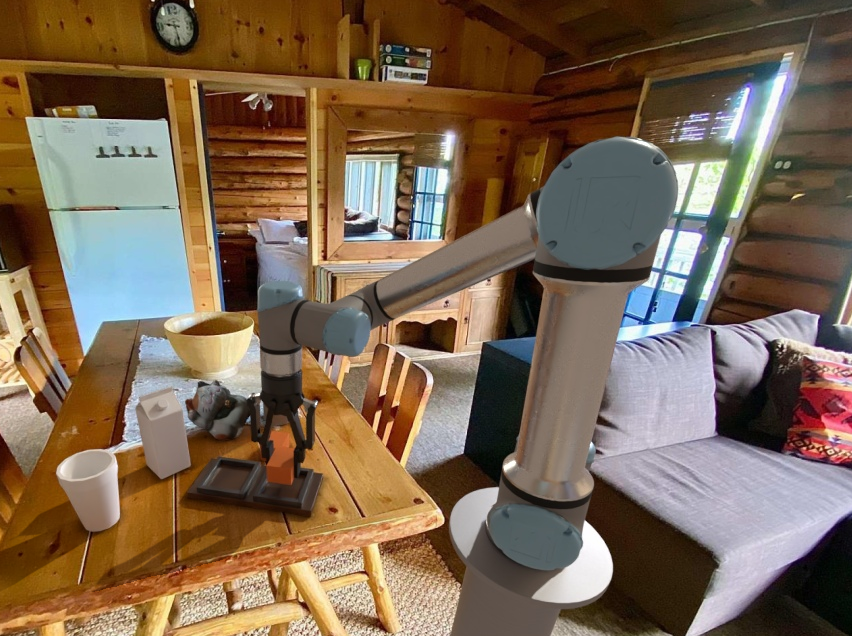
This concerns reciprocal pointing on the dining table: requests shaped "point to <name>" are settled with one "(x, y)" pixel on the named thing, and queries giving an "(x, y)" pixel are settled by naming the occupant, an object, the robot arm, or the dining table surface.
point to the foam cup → (92, 487)
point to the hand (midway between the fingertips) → (283, 471)
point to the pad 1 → (278, 440)
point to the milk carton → (163, 432)
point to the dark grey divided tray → (255, 487)
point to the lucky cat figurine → (218, 410)
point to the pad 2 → (281, 466)
